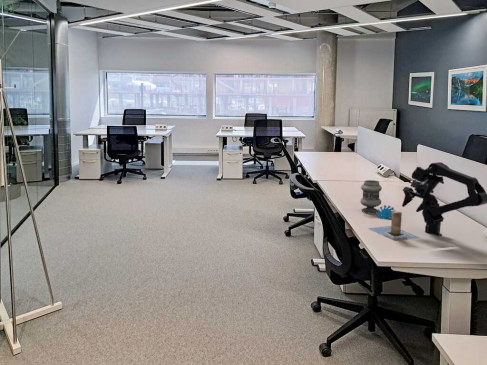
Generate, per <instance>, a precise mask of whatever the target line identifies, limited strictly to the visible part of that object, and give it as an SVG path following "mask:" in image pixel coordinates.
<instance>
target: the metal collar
mask: <svg viewBox="0 0 487 365" xmlns="http://www.w3.org/2000/svg"><path fill="white" fill-rule="evenodd" d="M385 236H387V237H389V238H391V239H393V240H392V241H394V240H396V239H405V238H407V235H405V234H403V233H400V236H393V235H391V232H384V236H383V237H385ZM387 237H386V238H387ZM389 238H388V239H389ZM391 239H390V240H391ZM405 240H406V239H405ZM396 241H397V240H396Z"/></svg>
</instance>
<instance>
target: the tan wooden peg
mask: <svg viewBox="0 0 487 365" xmlns="http://www.w3.org/2000/svg"><path fill="white" fill-rule="evenodd" d="M393 211H394V210H393ZM402 215H403V213H402V212H401V211H396V210H395V211H394V212H392V220H391V225H390V226H391V235H393V236H400V233H401V230H402Z"/></svg>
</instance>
